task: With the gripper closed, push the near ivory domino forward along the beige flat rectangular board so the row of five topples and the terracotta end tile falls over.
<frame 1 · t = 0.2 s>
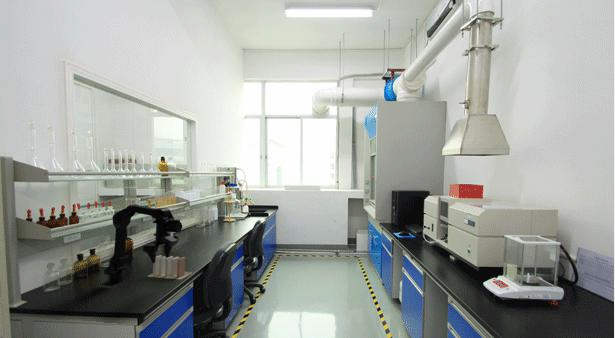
hand: (160, 260, 136), 14 cm above the table, fingers open, 9 cm apart
domino 5: (180, 275, 150), point 1 cm above the table, touching beige flat rectangular board
beige flat rectangular board: (170, 276, 151), on the table
domino 2: (162, 273, 152), point 1 cm above the table, touching beige flat rectangular board
domino 1: (157, 273, 152), point 1 cm above the table, touching beige flat rectangular board
domino 3: (168, 274, 151), point 1 cm above the table, touching beige flat rectangular board
domino 4: (174, 274, 150), point 1 cm above the table, touching beige flat rectangular board
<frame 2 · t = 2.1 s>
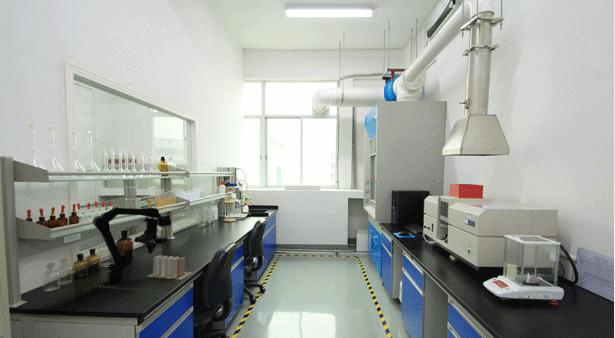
hand: (150, 253, 153), 12 cm above the table, fingers closed
nothing on the table moved.
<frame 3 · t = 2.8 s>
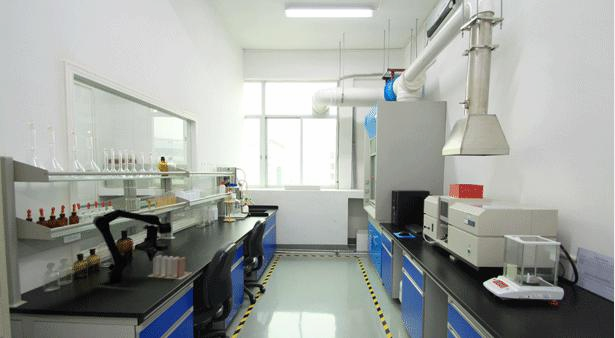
hand: (150, 261, 153), 8 cm above the table, fingers closed
nothing on the table moved.
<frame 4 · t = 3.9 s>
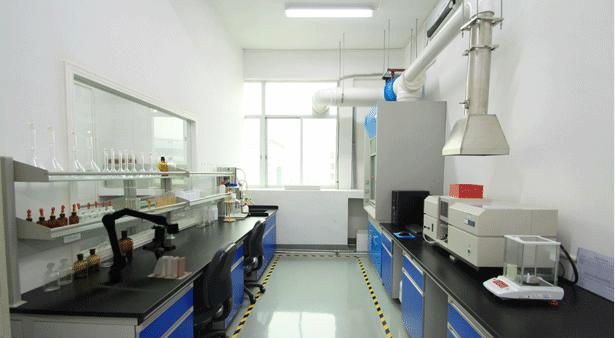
hand: (158, 261, 152), 8 cm above the table, fingers closed
domino 2: (162, 273, 152), point 1 cm above the table, tilted 7°, touching beige flat rectangular board
domino 1: (157, 272, 152), point 1 cm above the table, tilted 21°, touching beige flat rectangular board
everything else where it was.
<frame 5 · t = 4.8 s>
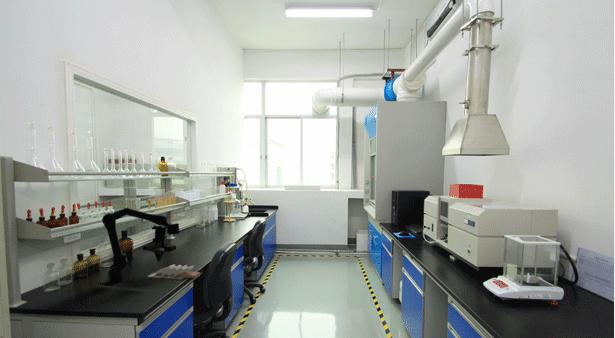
hand: (158, 261, 152), 8 cm above the table, fingers closed
domino 5: (182, 274, 150), point 2 cm above the table, tilted 90°, touching beige flat rectangular board, domino 4
domino 2: (164, 272, 152), point 2 cm above the table, tilted 66°, touching beige flat rectangular board, domino 1, domino 3
domino 1: (158, 272, 152), point 2 cm above the table, tilted 67°, touching beige flat rectangular board, domino 2
domino 3: (170, 273, 151), point 2 cm above the table, tilted 66°, touching beige flat rectangular board, domino 2, domino 4
domino 4: (177, 273, 150), point 2 cm above the table, tilted 66°, touching domino 3, domino 5
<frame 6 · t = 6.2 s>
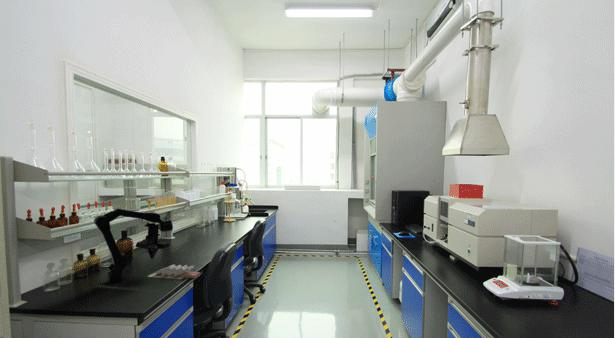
hand: (152, 258, 153), 9 cm above the table, fingers closed
nothing on the table moved.
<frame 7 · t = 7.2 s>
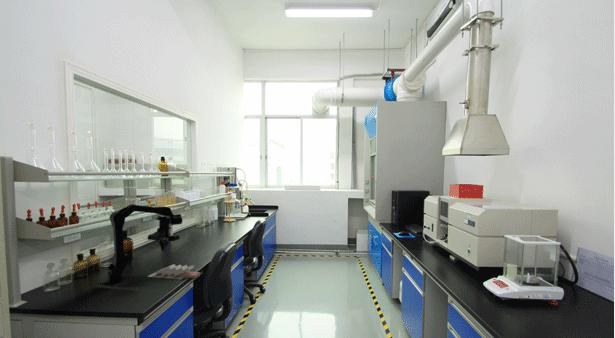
hand: (163, 250, 160), 13 cm above the table, fingers closed
nothing on the table moved.
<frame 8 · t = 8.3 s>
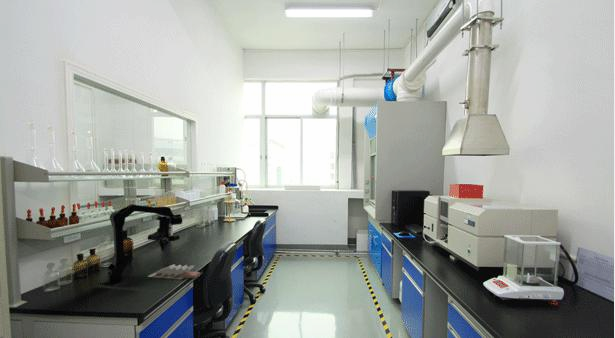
hand: (163, 250, 160), 12 cm above the table, fingers closed
nothing on the table moved.
at the end: domino 5 tilted 90°; domino 1 tilted 67° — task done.
